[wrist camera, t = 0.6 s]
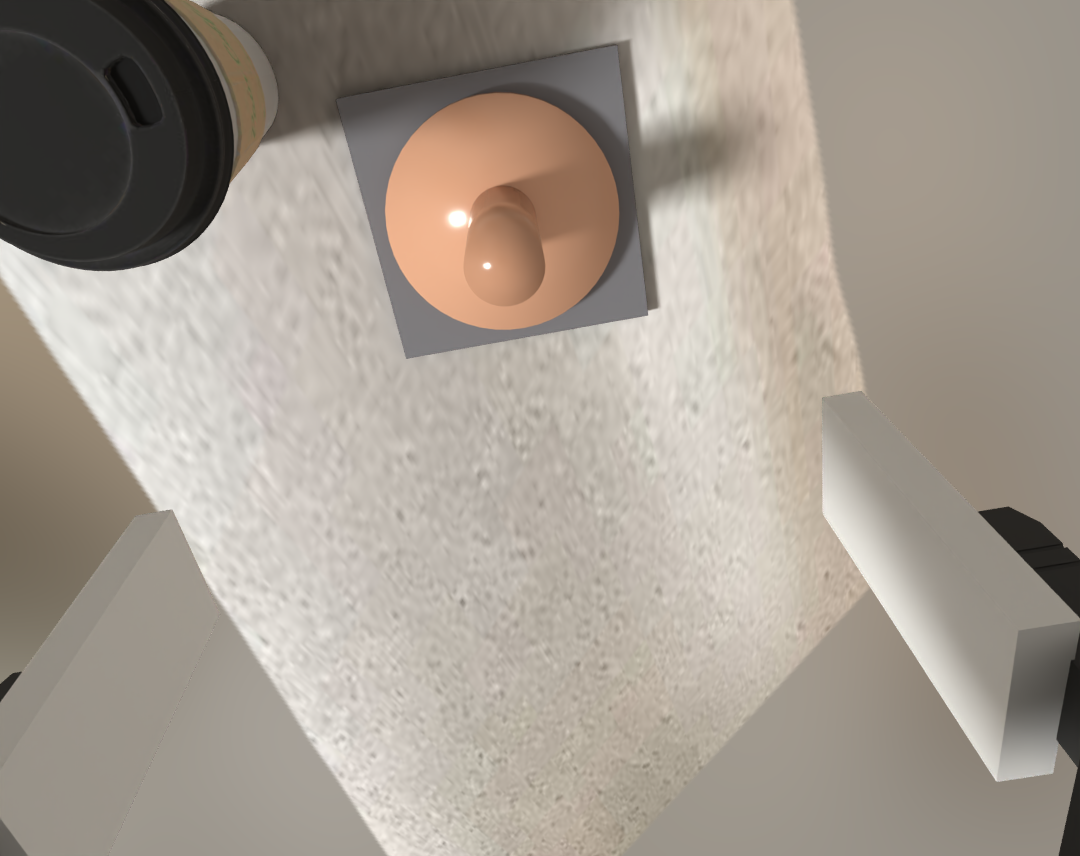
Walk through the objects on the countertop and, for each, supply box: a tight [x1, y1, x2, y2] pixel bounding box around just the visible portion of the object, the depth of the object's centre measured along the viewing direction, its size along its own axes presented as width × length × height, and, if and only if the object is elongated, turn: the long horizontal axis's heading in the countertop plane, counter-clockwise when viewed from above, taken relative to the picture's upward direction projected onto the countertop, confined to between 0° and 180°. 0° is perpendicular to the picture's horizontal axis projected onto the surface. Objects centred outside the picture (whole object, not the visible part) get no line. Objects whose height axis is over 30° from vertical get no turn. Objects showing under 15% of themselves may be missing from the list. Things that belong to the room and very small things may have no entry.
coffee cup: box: [0, 0, 279, 271], centre depth 30 cm, size 9×9×15 cm
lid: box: [385, 92, 619, 330], centre depth 35 cm, size 11×11×9 cm
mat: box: [336, 45, 648, 359], centre depth 39 cm, size 13×13×1 cm
